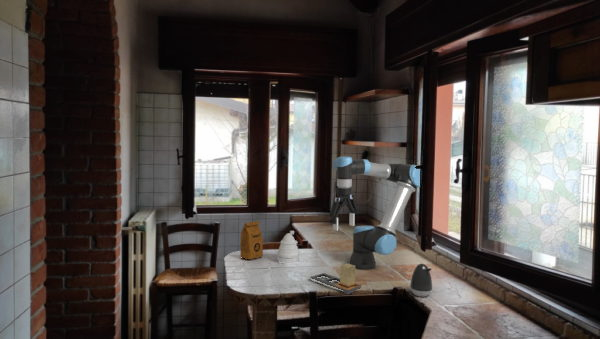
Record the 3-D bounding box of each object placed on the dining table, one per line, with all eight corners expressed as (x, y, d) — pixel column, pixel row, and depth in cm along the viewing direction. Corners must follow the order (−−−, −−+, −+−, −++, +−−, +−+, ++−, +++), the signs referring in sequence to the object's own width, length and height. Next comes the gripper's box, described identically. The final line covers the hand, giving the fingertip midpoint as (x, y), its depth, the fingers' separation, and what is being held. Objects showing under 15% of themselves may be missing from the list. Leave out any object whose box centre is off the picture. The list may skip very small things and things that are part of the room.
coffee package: (265, 258, 276) (265, 221, 274) (248, 261, 268) (249, 224, 266) (254, 254, 283) (255, 219, 281) (238, 258, 275) (238, 221, 273)
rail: (323, 276, 245) (324, 272, 244) (360, 289, 226) (360, 285, 226) (310, 280, 238) (310, 276, 238) (347, 294, 220) (347, 289, 219)
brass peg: (346, 286, 230) (347, 263, 229) (354, 289, 226) (355, 265, 225) (339, 289, 226) (340, 265, 225) (347, 291, 223) (348, 267, 222)
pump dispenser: (421, 300, 214) (423, 268, 213) (405, 293, 223) (406, 262, 222) (436, 296, 220) (438, 265, 219) (419, 289, 229) (421, 259, 227)
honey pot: (300, 258, 277) (300, 229, 275) (297, 265, 264) (298, 234, 263) (278, 257, 278) (279, 228, 277) (275, 263, 266) (276, 232, 264)
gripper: (353, 183, 248) (352, 222, 250) (322, 188, 230) (322, 230, 232) (364, 185, 242) (364, 224, 245) (334, 190, 224) (334, 233, 227)
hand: (343, 227), depth 238 cm, fingers open, 13 cm apart
